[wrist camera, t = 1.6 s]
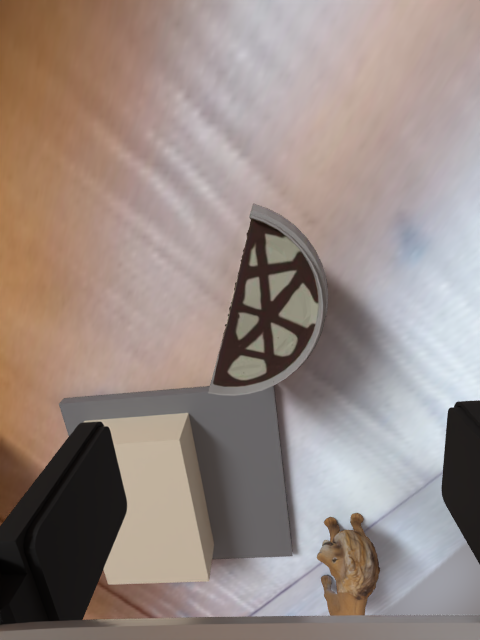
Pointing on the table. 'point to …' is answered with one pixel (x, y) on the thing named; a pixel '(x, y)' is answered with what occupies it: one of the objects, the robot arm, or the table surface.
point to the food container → (271, 308)
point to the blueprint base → (221, 460)
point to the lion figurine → (348, 567)
